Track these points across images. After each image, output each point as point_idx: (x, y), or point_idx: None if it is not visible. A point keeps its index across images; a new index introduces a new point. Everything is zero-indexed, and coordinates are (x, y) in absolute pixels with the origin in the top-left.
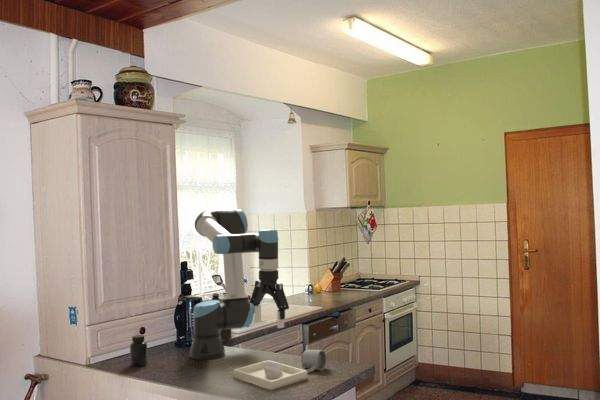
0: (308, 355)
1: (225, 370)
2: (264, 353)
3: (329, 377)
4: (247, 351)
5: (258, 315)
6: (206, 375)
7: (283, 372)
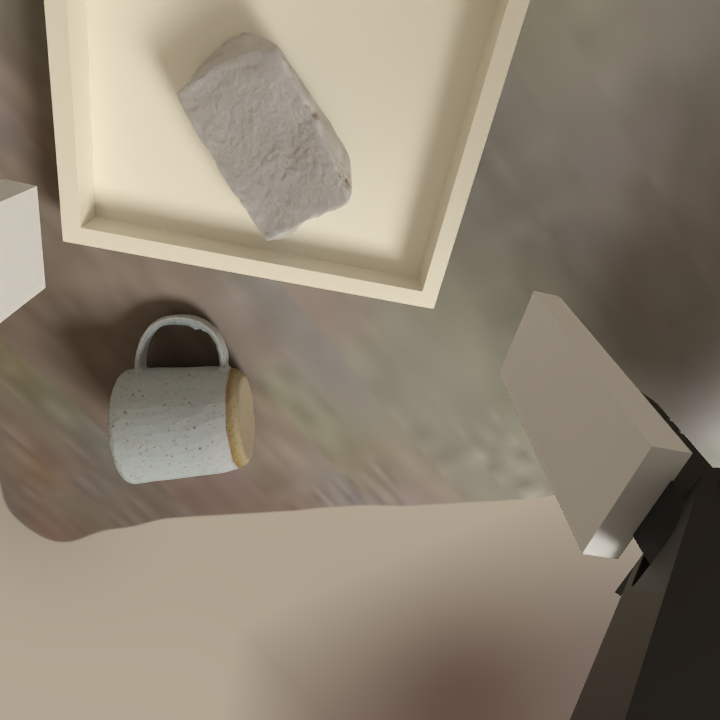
0: (179, 404)
1: (662, 90)
2: None
3: None
4: None
5: (544, 387)
6: None
7: None
